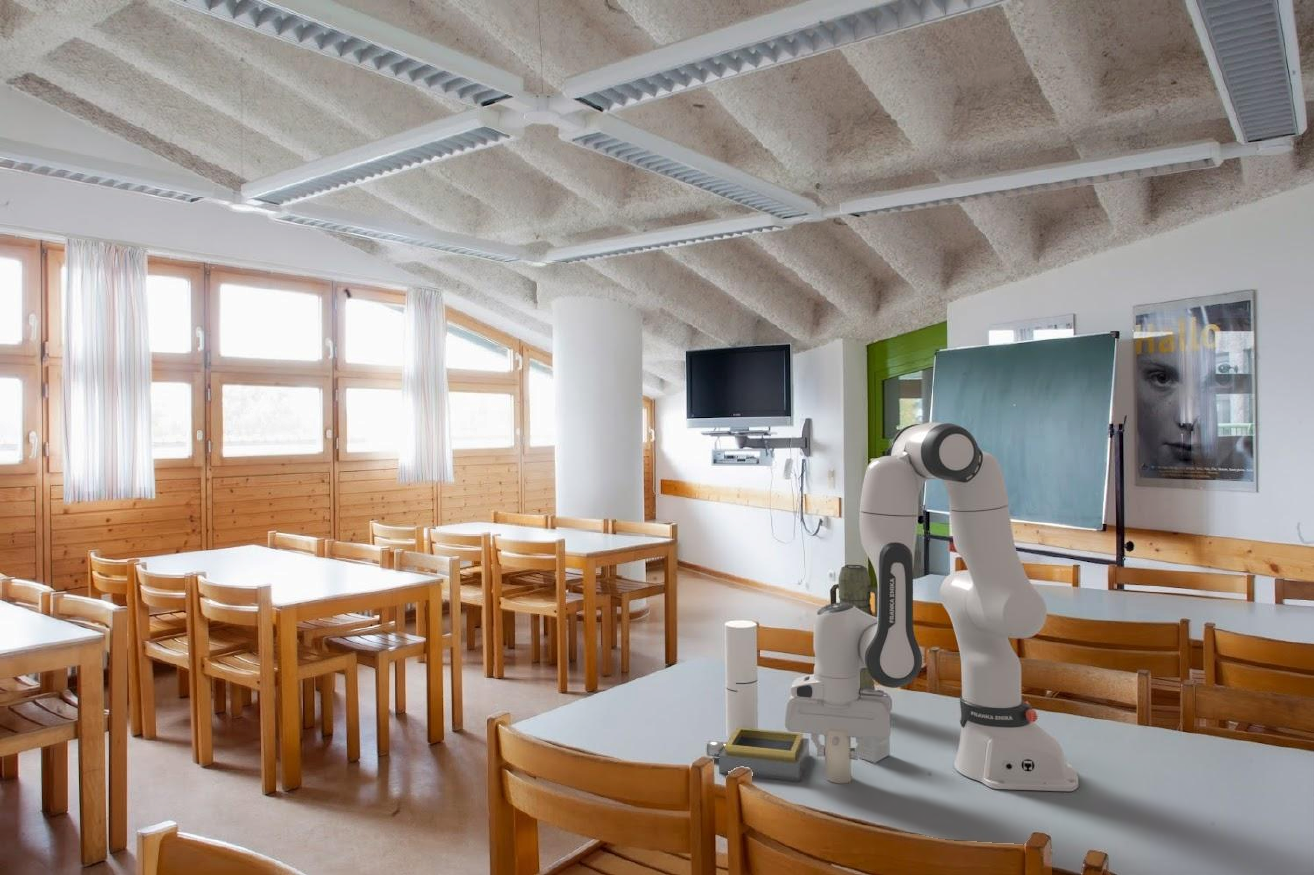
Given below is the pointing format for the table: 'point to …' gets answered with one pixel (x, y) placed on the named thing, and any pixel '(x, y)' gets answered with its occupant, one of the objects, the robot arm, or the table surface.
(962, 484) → the robot arm
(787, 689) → the table surface
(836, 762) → the spout can
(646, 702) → the table surface
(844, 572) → the thermos
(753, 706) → the cylindrical container
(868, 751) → the skincare box
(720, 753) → the box
